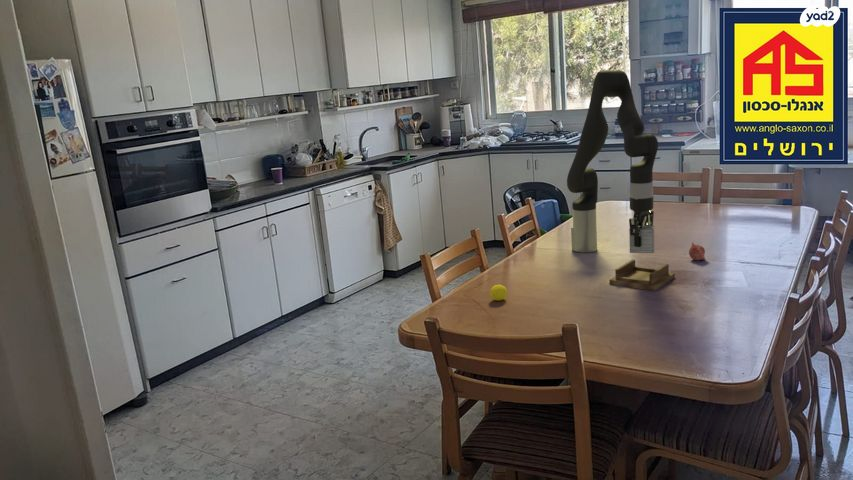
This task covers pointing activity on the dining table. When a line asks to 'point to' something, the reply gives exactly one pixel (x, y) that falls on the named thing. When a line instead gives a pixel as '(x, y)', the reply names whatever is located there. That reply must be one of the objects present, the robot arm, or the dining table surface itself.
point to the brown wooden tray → (641, 276)
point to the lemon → (498, 292)
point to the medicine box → (644, 241)
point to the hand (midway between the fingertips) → (641, 244)
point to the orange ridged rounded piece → (697, 252)
